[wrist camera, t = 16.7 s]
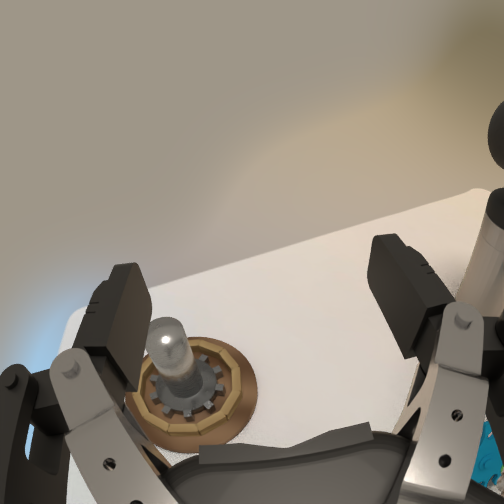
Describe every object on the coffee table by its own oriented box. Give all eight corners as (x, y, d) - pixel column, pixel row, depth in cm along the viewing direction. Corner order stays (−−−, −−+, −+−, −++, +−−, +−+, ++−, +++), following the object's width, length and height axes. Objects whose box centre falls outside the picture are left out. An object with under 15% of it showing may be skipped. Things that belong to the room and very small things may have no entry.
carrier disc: (174, 327, 45) (169, 315, 44) (278, 364, 39) (278, 353, 37) (105, 412, 33) (96, 402, 32) (216, 477, 26) (211, 471, 25)
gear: (429, 496, 19) (478, 415, 20) (419, 471, 25) (459, 399, 26) (499, 502, 16) (543, 427, 16) (484, 481, 21) (522, 414, 22)
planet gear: (179, 350, 40) (155, 291, 34) (238, 373, 37) (225, 314, 30) (139, 401, 34) (101, 348, 27) (200, 434, 30) (172, 388, 24)
